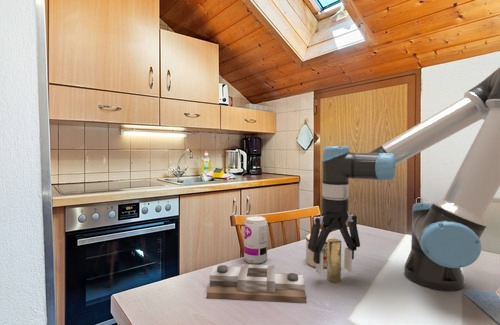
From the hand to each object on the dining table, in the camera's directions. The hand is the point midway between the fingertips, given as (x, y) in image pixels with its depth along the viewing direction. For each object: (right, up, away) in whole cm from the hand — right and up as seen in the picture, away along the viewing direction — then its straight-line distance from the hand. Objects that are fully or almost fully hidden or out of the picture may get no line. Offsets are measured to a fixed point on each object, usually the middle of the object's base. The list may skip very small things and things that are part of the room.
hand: (333, 271), depth 83 cm
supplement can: (-23, -2, +15) cm, 28 cm away
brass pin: (0, -2, 0) cm, 2 cm away
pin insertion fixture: (-23, -3, -5) cm, 24 cm away
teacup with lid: (0, -2, +13) cm, 13 cm away
